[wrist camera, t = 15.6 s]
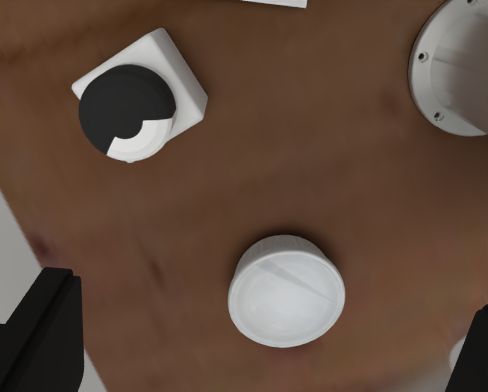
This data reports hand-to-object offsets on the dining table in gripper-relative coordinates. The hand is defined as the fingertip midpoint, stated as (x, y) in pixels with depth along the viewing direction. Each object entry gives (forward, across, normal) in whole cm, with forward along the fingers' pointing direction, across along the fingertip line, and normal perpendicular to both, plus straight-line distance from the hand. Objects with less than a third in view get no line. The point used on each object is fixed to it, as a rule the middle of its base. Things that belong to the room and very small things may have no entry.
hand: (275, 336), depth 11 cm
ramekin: (+33, -6, +19) cm, 38 cm away
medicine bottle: (+32, +8, +1) cm, 33 cm away
